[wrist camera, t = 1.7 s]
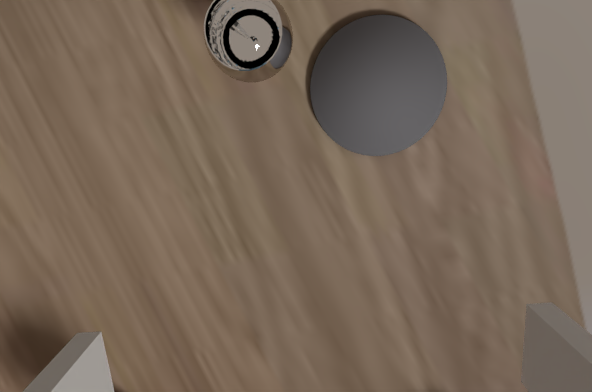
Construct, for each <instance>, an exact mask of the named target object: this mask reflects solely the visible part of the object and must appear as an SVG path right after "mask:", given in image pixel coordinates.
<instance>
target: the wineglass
mask: <svg viewBox="0 0 592 392" xmlns="http://www.w3.org/2000/svg"><path fill="white" fill-rule="evenodd" d="M204 40H205V45H206V47H207V50H208V53H209V55H210V57H211V58H212V60H213V61H214V63H215V64H216V66H217V67H218V68H219V69H220V70H221V71H222V72H224V73H225V74H226V75H228V76H230V77H231V78H234V79H236V80H239V81H243V82H260V81H264V80H267V79H269V78H271V77H273V76H274V75H275V74H277V73H278V72H279V71H280V70H281V69H282V68H283V67H284V65H285V64H286V62H287V60H288V58H289V56H290V53H291V50H292V44H293V32H292V26H291V23H290V20H289V17H288V15H287V13H286V12H285V10H284V8H283V7H282V6H281V5H280V3H279V2H278V1H277V0H214V1H213V2H212V3H211V5H210V7H209V8H208V10H207V13H206V16H205V21H204Z"/></svg>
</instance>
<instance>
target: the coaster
mask: <svg viewBox="0 0 592 392" xmlns="http://www.w3.org/2000/svg"><path fill="white" fill-rule="evenodd" d="M446 89H447V73H446V68H445V63H444V60H443V57H442V54H441V52H440V50H439V48H438V46H437V45H436V43H435V42H434V41H433V39H432V38H431V37H430V36H429V35H428V34H427V32H425V31H424V30H423V29H422V28H421V27H419V26H418V25H416V24H414V23H413V22H411V21H408V20H406V19H404V18H400V17H397V16H391V15H373V16H367V17H364V18H360V19H357V20H355V21H353V22H351V23H349V24H347V25H346V26H344V27H343V28H341V29H340V30H339V31H337V32H336V33H335V34H334V35H333V36H332V37H331V38H330V39H329V40H328V41H327V43H326V44H325V46H324V47H323V48H322V50H321V52H320V54H319V55H318V57H317V60H316V62H315V65H314V68H313V72H312V76H311V84H310V95H311V102H312V106H313V110H314V113H315V115H316V118H317V120H318V122H319V123H320V125H321V127H322V128H323V130H324V131H325V132H326V133H327V135H328V136H329V137H330V138H331V139H332V140H333V141H335V142H336V143H337V144H339V145H340V146H342V147H344V148H345V149H347V150H350V151H352V152H355V153H358V154H362V155H369V156H382V155H389V154H393V153H396V152H399V151H401V150H404V149H406V148H408V147H409V146H411V145H413V144H414V143H416V142H417V141H418V140H420V139H421V138H422V137H423V136H424V135H425V134H426V133H427V132H428V131H429V130H430V128H431V127H432V126H433V124H434V123H435V121H436V120H437V118H438V116H439V114H440V112H441V110H442V107H443V104H444V101H445V96H446Z"/></svg>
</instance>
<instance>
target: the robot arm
mask: <svg viewBox="0 0 592 392" xmlns="http://www.w3.org/2000/svg"><path fill="white" fill-rule="evenodd" d="M521 382H522V383H523V385H524V386H525V387H526V389H527V390H528V391H529V392H592V335H591V334H590V333H589V332H587V331H586V330H585V329H584V328H583V327H581V326H580V325H579V324H578V323H576V322H575V321H574V320H573V319H572V318H570V317H569V316H568V315H567V314H566V313H564V312H563V311H562V310H561V309H559V308H558V307H557V306H556V305H555V304H553V303H537V304H527V305H526V320H525V334H524V348H523V362H522V376H521ZM23 392H114V387H113V383H112V378H111V374H110V369H109V365H108V360H107V356H106V351H105V347H104V342H103V338H102V333H101V332H86V333H77V334H76V335H75V336H74V337H73V338H72V339H71V340H70V341H69V342H68V343H67V344H66V345H65V347H64V348H63V349H62V350H61V351H60V352H59V353H58V354H57V355H56V356H55V357H54V358H53V359H52V361H51V362H50V363H49V364H48V365H47V366H46V367H45V368H44V369H43V370H42V371H41V372H40V373H39V374H38V376H37V377H36V378H35V379H34V380H33V381H32V382H31V383H30V384H29V385H28V386H27V387H26V388H25V389H24V391H23Z"/></svg>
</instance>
